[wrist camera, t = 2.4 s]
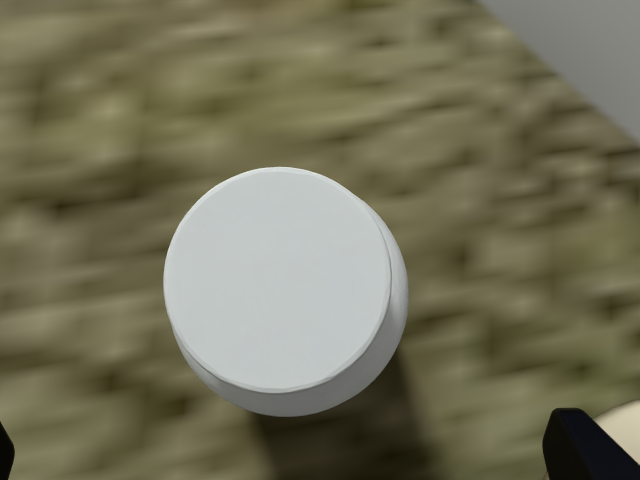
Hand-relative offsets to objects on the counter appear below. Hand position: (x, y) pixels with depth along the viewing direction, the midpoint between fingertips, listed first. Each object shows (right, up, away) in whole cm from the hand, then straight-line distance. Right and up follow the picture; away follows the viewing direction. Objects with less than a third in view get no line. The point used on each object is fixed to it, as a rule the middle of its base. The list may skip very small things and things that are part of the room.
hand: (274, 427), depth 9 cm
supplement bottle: (0, +1, +10) cm, 10 cm away
